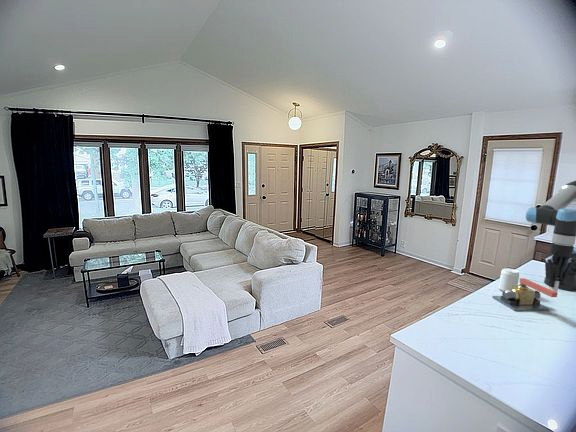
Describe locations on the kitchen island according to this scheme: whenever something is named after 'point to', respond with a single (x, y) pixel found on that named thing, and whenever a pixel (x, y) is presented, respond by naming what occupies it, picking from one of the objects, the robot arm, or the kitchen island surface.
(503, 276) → the beverage can
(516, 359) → the kitchen island surface
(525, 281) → the lever
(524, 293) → the valve fixture
